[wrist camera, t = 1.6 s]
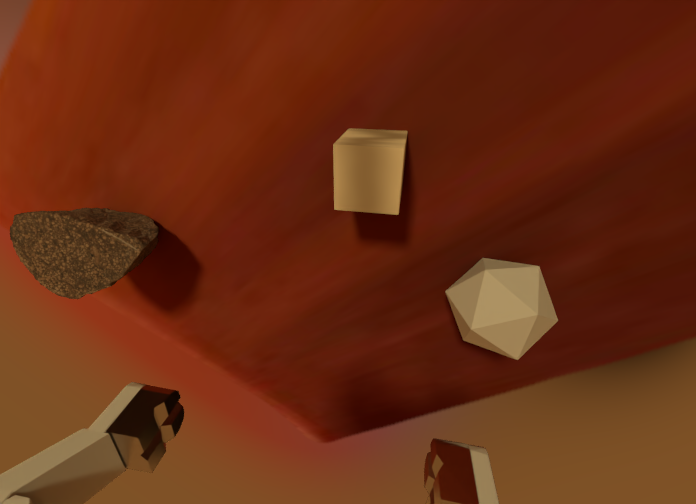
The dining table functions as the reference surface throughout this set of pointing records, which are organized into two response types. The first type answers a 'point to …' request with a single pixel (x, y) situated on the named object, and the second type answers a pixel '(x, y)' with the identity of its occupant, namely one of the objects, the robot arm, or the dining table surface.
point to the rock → (82, 247)
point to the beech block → (369, 170)
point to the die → (502, 306)
